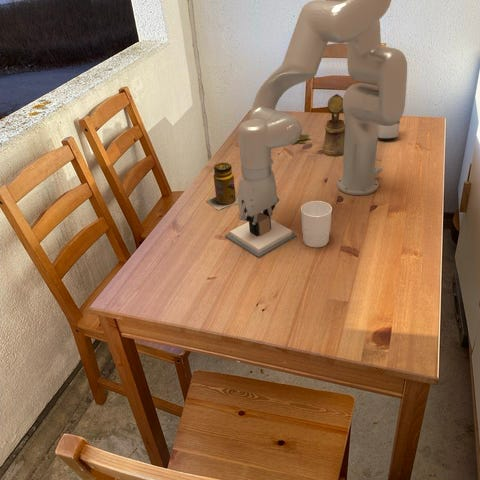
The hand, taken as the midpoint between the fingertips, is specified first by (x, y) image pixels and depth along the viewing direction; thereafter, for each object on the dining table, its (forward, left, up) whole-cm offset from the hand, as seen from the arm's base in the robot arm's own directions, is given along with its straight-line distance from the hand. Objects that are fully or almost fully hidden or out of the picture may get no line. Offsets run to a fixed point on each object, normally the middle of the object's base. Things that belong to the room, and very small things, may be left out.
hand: (260, 230), depth 128 cm
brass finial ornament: (-57, -23, -2) cm, 62 cm away
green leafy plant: (-54, -40, -3) cm, 67 cm away
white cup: (-9, +12, -2) cm, 15 cm away
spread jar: (-76, -17, -2) cm, 78 cm away
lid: (0, 0, -1) cm, 1 cm away
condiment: (-5, -23, -2) cm, 24 cm away
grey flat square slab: (0, 0, -2) cm, 2 cm away
